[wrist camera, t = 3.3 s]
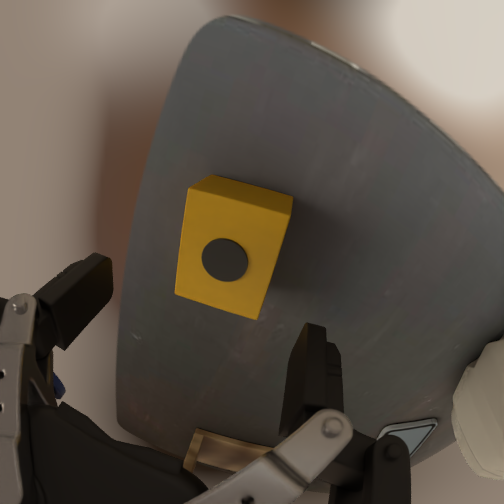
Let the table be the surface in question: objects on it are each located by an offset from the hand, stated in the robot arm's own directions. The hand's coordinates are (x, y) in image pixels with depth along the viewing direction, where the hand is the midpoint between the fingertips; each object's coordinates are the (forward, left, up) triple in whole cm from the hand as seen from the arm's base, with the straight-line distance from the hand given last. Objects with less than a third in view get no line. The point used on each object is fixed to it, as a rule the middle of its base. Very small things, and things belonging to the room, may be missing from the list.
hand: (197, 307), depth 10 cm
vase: (+28, -5, -8) cm, 30 cm away
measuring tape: (0, 0, -8) cm, 8 cm away
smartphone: (+26, -23, -8) cm, 36 cm away
